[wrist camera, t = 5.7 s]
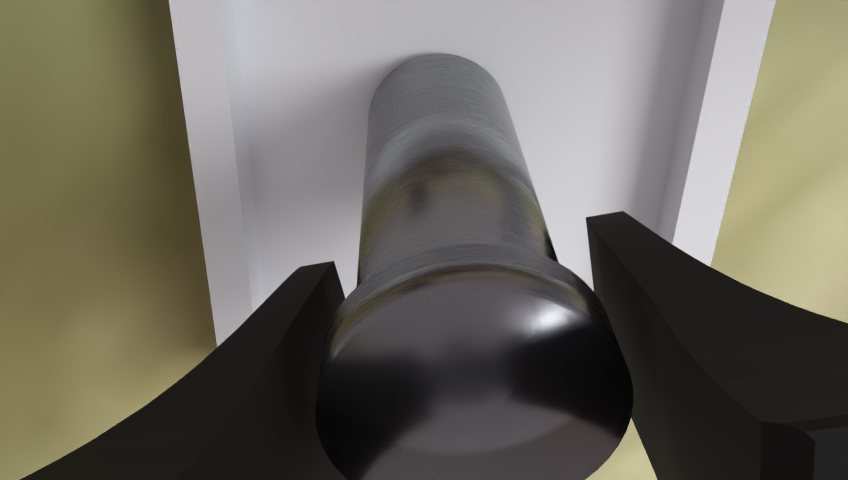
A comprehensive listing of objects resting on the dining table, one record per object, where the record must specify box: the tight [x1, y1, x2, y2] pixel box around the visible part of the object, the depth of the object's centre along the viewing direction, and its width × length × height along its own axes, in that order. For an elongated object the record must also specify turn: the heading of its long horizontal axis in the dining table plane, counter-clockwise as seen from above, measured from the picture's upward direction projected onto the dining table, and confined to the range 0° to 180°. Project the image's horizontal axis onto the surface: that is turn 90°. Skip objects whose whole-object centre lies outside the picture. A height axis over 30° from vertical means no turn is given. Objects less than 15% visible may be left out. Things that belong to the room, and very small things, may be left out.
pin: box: [315, 53, 633, 480], centre depth 13 cm, size 4×4×9 cm
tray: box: [169, 0, 776, 347], centre depth 17 cm, size 12×12×2 cm
